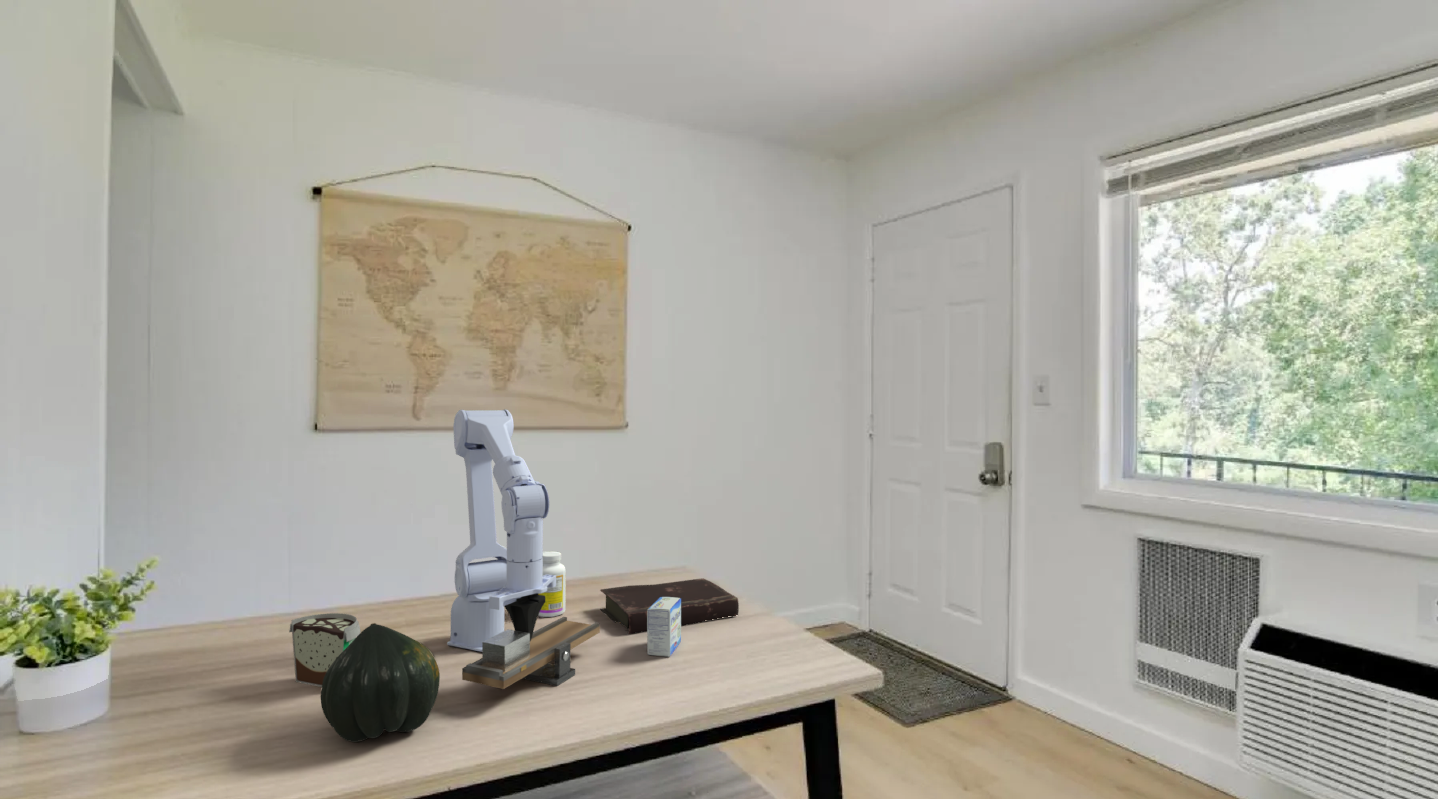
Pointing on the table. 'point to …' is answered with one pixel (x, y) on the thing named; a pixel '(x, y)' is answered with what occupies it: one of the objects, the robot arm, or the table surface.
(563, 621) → the beam
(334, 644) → the food container
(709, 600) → the diary
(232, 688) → the table surface
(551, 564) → the supplement bottle
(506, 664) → the block
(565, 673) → the stand
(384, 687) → the squash
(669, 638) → the medicine box
